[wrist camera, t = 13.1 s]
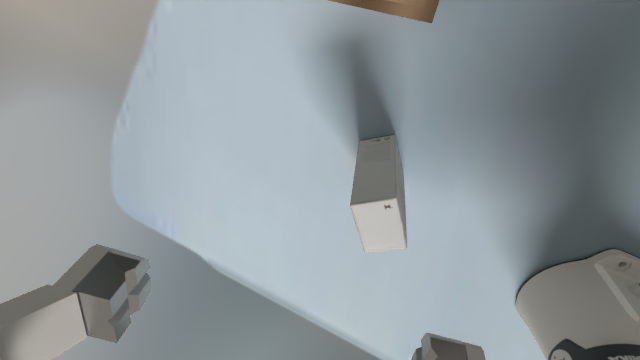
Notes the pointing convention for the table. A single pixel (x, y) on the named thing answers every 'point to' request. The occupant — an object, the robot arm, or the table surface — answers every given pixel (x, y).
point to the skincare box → (379, 195)
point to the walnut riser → (399, 7)
